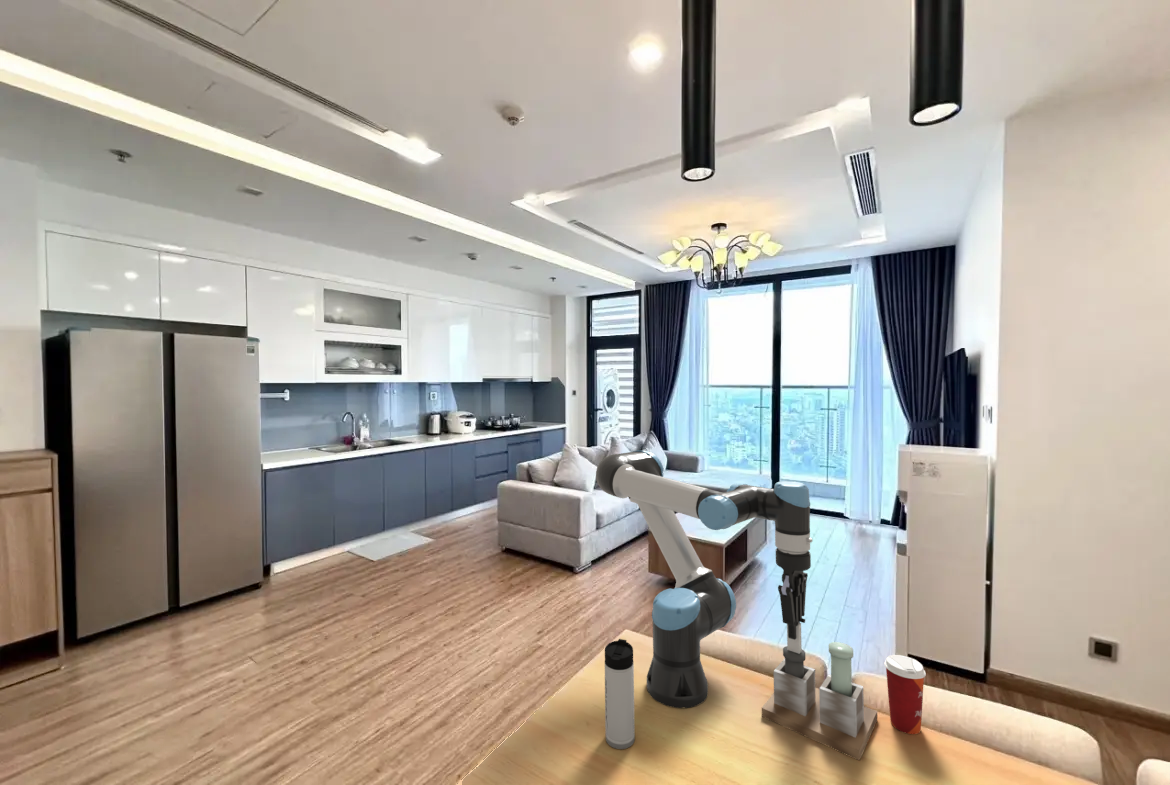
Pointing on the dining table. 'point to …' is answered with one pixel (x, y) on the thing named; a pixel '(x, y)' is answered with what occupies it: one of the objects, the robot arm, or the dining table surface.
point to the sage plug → (841, 668)
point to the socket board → (821, 711)
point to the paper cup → (905, 692)
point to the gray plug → (794, 663)
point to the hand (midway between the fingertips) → (794, 650)
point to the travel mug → (619, 694)
